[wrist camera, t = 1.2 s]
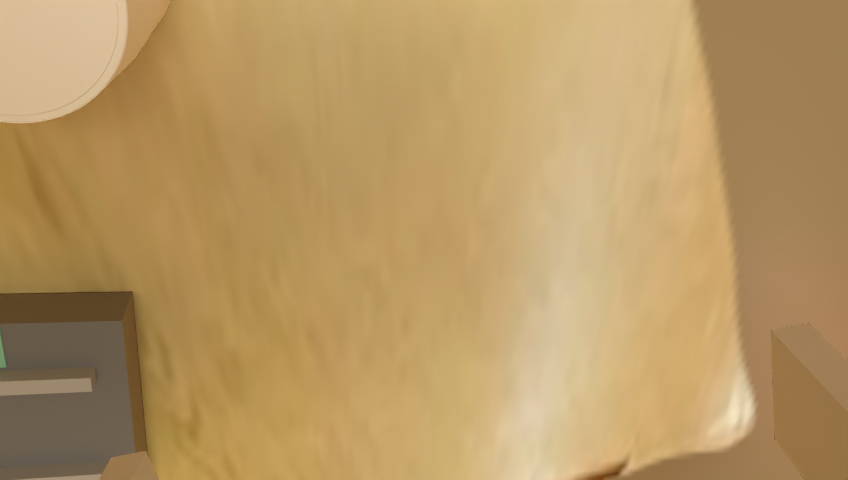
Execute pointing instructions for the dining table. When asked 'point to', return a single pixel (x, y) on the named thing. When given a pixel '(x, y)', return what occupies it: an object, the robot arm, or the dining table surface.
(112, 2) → the mug
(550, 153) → the dining table surface
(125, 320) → the switch panel
